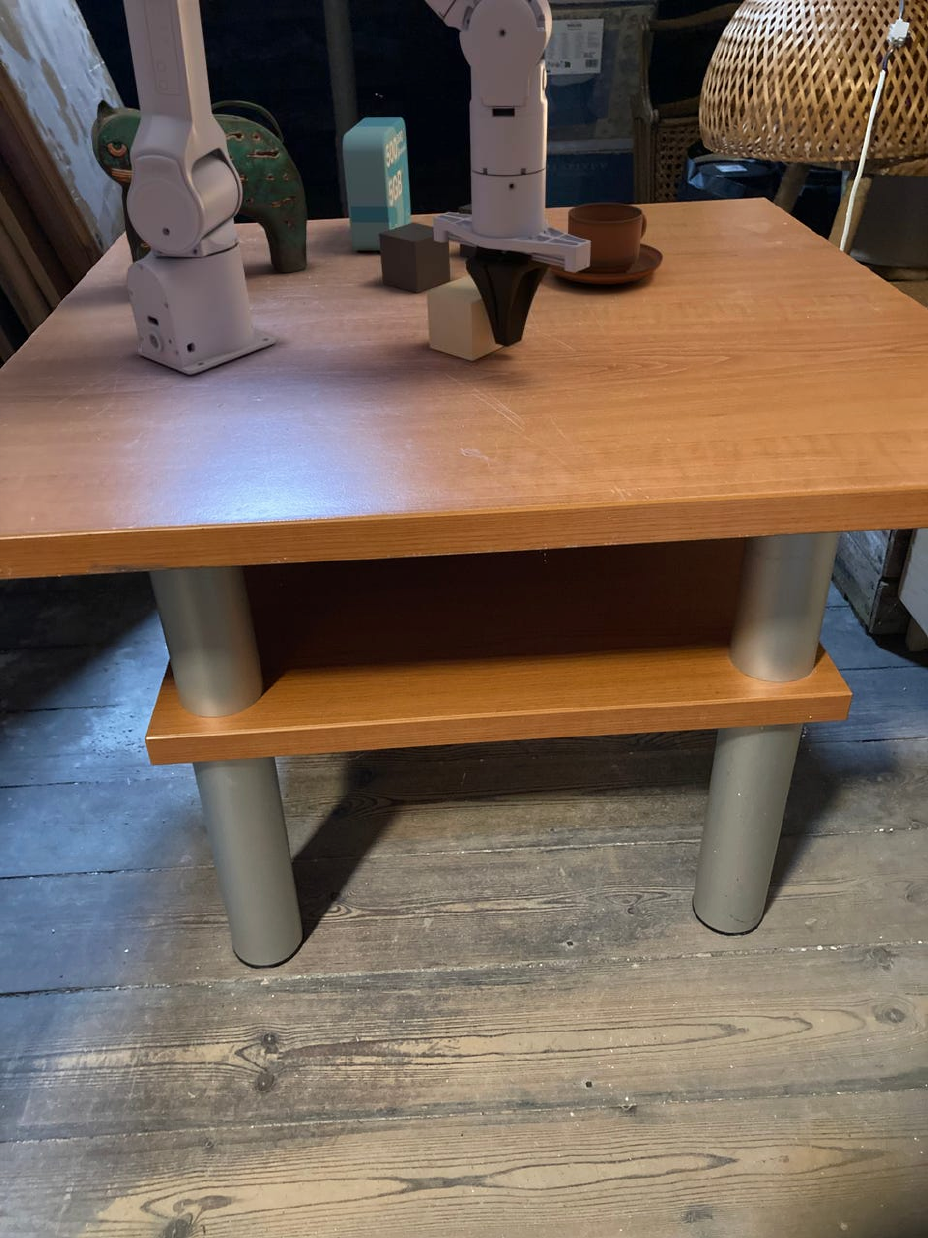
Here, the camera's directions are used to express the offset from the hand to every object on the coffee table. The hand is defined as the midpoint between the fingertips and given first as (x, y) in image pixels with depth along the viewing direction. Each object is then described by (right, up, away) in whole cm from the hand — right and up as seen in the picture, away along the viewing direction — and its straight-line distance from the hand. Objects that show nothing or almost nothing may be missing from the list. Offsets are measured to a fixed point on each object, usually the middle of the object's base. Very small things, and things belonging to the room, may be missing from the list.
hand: (508, 341), depth 81 cm
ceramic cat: (-29, +12, +20) cm, 37 cm away
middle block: (-9, +11, +18) cm, 23 cm away
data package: (-13, +21, +31) cm, 39 cm away
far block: (-1, +17, +25) cm, 30 cm away
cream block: (-3, +1, +3) cm, 5 cm away
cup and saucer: (+10, +12, +18) cm, 24 cm away
